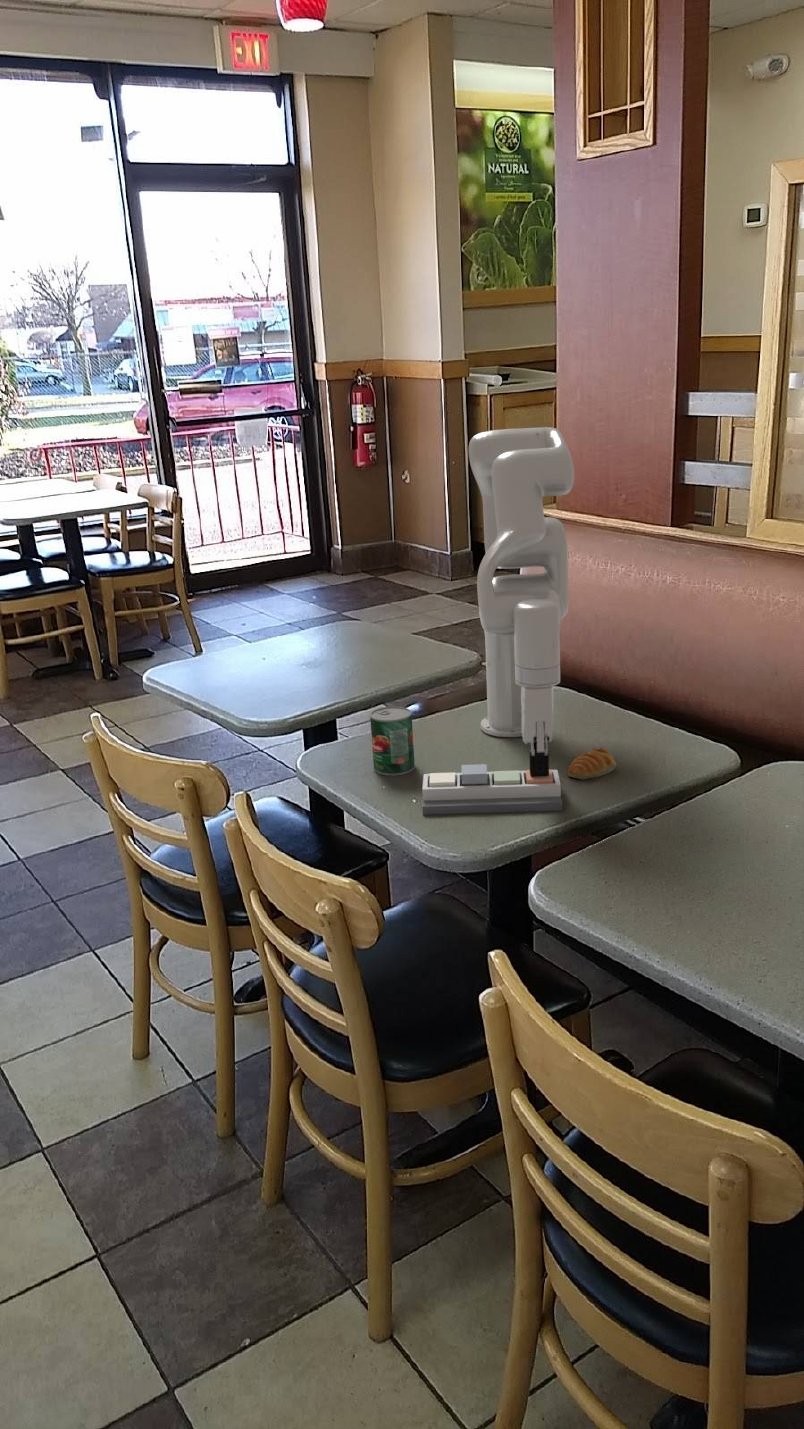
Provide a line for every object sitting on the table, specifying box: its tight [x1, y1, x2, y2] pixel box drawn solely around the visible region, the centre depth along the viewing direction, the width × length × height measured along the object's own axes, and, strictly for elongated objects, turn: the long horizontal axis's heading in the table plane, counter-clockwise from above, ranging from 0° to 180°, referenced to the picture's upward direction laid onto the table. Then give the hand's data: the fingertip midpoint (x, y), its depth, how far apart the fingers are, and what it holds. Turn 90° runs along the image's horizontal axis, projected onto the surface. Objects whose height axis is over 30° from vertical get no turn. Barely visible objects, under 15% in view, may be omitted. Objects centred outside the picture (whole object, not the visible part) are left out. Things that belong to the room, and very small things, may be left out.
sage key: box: [493, 770, 520, 785], centre depth 192 cm, size 4×4×2 cm
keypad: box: [421, 769, 563, 816], centre depth 192 cm, size 12×24×4 cm, turn 87°
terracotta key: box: [525, 768, 553, 784], centre depth 191 cm, size 4×4×2 cm
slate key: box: [461, 763, 488, 784], centre depth 192 cm, size 4×4×2 cm
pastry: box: [567, 747, 617, 780], centre depth 201 cm, size 9×7×4 cm
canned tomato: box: [369, 706, 416, 776], centre depth 207 cm, size 8×8×11 cm
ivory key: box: [429, 772, 456, 787], centre depth 192 cm, size 4×4×2 cm
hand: (539, 774), depth 191 cm, fingers closed
